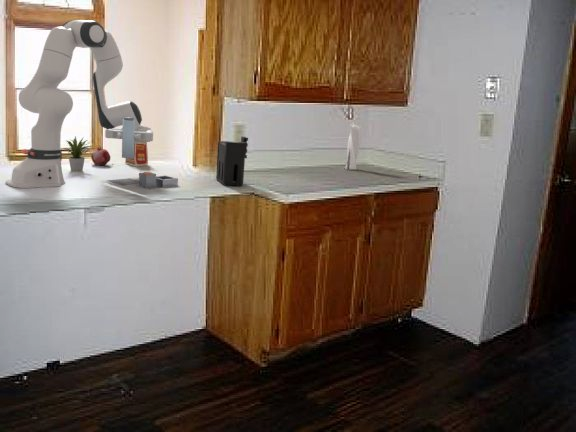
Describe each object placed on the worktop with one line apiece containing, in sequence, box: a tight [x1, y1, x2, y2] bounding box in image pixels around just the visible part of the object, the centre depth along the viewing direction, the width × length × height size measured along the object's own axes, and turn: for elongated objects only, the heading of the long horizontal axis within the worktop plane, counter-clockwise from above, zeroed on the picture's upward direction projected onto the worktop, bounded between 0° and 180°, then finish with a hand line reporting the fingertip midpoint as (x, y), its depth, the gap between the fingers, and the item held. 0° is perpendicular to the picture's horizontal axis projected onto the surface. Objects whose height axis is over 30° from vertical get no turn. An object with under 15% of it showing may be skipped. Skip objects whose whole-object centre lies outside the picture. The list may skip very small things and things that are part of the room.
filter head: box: [135, 172, 179, 190], centre depth 255 cm, size 16×10×6 cm, turn 140°
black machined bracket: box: [215, 136, 249, 187], centre depth 279 cm, size 12×21×22 cm, turn 21°
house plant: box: [63, 135, 92, 173], centre depth 275 cm, size 14×14×16 cm
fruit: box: [90, 145, 111, 166], centre depth 297 cm, size 9×10×10 cm
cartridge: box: [121, 117, 135, 159], centre depth 253 cm, size 5×5×17 cm
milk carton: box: [124, 142, 149, 167], centre depth 308 cm, size 9×9×20 cm
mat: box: [106, 178, 139, 186], centre depth 257 cm, size 12×12×1 cm
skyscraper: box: [342, 121, 362, 171], centre depth 354 cm, size 8×8×28 cm
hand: (128, 136), depth 252 cm, fingers closed on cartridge, 5 cm apart
